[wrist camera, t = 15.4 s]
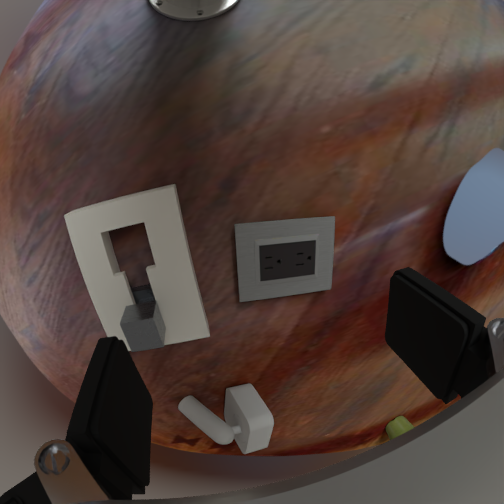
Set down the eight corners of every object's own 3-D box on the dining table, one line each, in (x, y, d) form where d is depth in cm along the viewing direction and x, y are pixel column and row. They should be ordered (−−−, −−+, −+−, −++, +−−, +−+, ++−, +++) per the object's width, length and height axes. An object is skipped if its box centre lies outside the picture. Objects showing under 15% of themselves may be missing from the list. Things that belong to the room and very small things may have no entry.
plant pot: (374, 436, 63) (387, 458, 55) (389, 415, 60) (405, 437, 52) (398, 429, 65) (412, 449, 57) (413, 408, 63) (429, 428, 55)
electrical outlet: (328, 213, 39) (336, 217, 37) (325, 283, 43) (332, 290, 41) (232, 220, 37) (235, 225, 35) (237, 295, 41) (240, 303, 39)
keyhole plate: (73, 210, 32) (64, 215, 29) (175, 183, 34) (173, 186, 31) (118, 340, 39) (115, 352, 36) (208, 324, 41) (210, 336, 38)
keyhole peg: (130, 288, 37) (117, 322, 29) (160, 281, 38) (154, 315, 29) (140, 315, 39) (131, 353, 30) (169, 310, 39) (166, 347, 31)
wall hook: (174, 383, 43) (195, 439, 33) (243, 371, 48) (275, 418, 38) (177, 418, 46) (197, 469, 36) (239, 406, 51) (266, 450, 41)
